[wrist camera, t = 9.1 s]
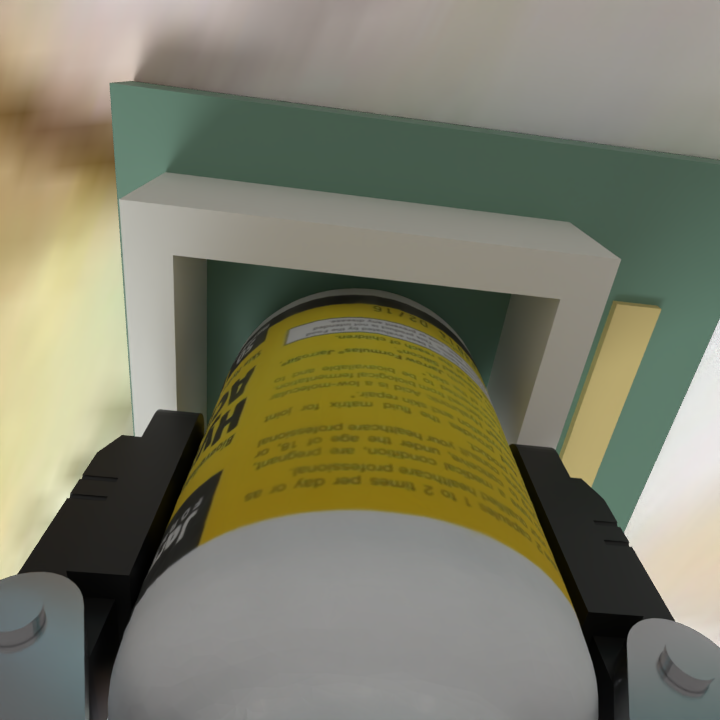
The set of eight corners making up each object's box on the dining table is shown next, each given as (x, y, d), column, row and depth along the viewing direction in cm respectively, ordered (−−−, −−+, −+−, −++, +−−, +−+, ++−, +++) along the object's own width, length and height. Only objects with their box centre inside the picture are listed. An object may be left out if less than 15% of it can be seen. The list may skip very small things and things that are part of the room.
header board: (746, 163, 12) (892, 199, 9) (571, 586, 18) (619, 701, 15) (132, 81, 11) (43, 88, 8) (157, 554, 17) (111, 669, 14)
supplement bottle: (231, 263, 11) (-202, 994, 2) (503, 297, 11) (991, 1024, 3) (224, 483, 14) (-3, 1241, 5) (448, 504, 14) (615, 1237, 5)
